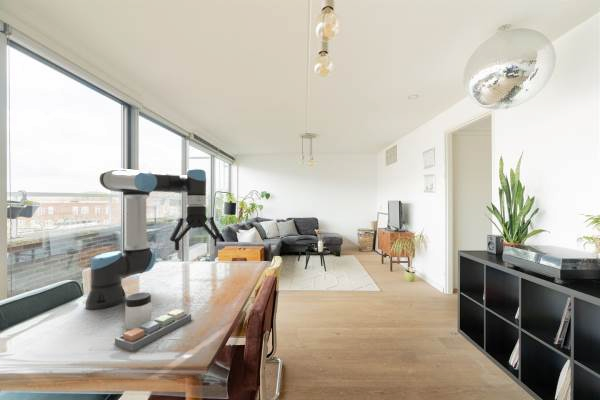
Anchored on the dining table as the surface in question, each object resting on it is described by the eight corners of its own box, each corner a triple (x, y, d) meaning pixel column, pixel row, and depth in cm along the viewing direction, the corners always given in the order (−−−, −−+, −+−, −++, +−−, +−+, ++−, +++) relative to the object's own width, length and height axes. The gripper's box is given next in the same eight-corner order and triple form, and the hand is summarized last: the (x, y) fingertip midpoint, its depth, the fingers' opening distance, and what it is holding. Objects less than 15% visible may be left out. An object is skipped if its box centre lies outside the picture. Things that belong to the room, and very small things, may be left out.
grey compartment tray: (112, 348, 83) (112, 337, 83) (173, 319, 104) (173, 310, 104) (134, 356, 78) (134, 345, 78) (193, 324, 99) (193, 314, 99)
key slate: (139, 331, 88) (139, 325, 88) (151, 326, 91) (151, 320, 91) (147, 334, 86) (147, 328, 86) (159, 328, 90) (159, 322, 90)
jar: (120, 334, 92) (120, 301, 92) (129, 324, 100) (129, 293, 100) (147, 331, 94) (147, 299, 94) (154, 321, 102) (155, 291, 102)
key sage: (154, 324, 93) (154, 319, 93) (164, 319, 96) (164, 314, 96) (162, 326, 91) (162, 321, 91) (172, 321, 95) (172, 316, 95)
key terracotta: (123, 339, 82) (123, 333, 83) (135, 333, 86) (135, 327, 86) (131, 342, 81) (131, 336, 81) (144, 336, 85) (144, 330, 85)
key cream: (167, 318, 98) (167, 313, 98) (176, 314, 101) (177, 308, 101) (175, 320, 96) (175, 315, 96) (184, 315, 100) (184, 310, 100)
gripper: (166, 206, 97) (166, 261, 97) (228, 205, 113) (228, 253, 113) (161, 206, 103) (161, 258, 103) (221, 205, 119) (221, 250, 119)
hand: (196, 255), depth 108 cm, fingers open, 13 cm apart
